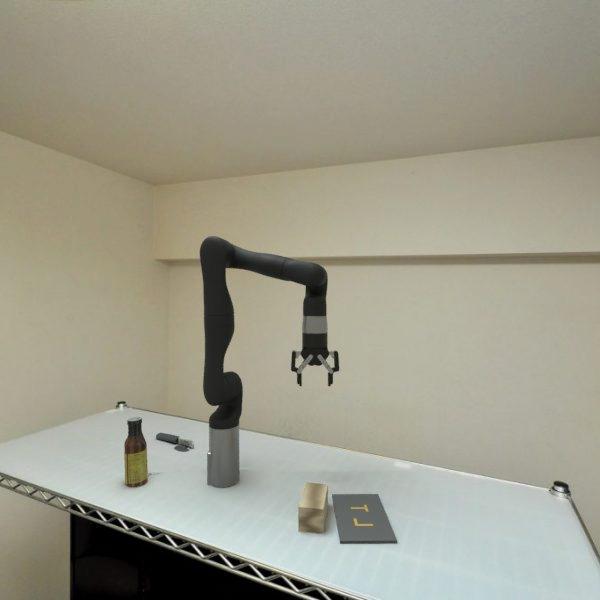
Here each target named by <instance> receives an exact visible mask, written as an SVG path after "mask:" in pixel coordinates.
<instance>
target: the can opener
mask: <svg viewBox="0 0 600 600" xmlns="http://www.w3.org/2000/svg"><path fill="white" fill-rule="evenodd" d="M155 439H157V440H161V441H166V442H170V443H173V444H177V445H176V446H174V447H173V449H174V450H176V451H177V452H181V453H186V452H190V450H194V449H195V443H194V441H193V439H189V438H186V437H182V436H179V435H174V434H171V433H170V434H169V433H164V432H158V433H156V435H155Z"/></svg>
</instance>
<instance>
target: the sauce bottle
mask: <svg viewBox="0 0 600 600" xmlns="http://www.w3.org/2000/svg"><path fill="white" fill-rule="evenodd" d="M126 422H127V423H126V424H127V437H126V439H125V441H124V452H123V453H124V482H125V486H126V487H128V488H139V487H142V486H144V485H146V484H147V482H148V477H149V475H148V474H149V472H148V446H147V441H146V439H145V436H144V433H143V430H142V427H143V426H142V423H143V418H142V417H139V416H136V417H135V416H134V417H131V418H128V419H127V421H126Z"/></svg>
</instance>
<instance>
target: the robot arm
mask: <svg viewBox="0 0 600 600" xmlns="http://www.w3.org/2000/svg"><path fill="white" fill-rule="evenodd" d="M199 261H200V268H201V269H200V270H201V275H202V285H203V287H202V288H203V289H202V291H203V293H202V294H203V326H204V327H203V330H204V362H203V363H204V364H203V365H204V366H203V379H202V380H203V381H202V391H203V396H204V399H205V401H206V403H207V404H208V405H209V406H212V407H217V406H218V407H217V408H216V410H215V411H214V412H212V413H211V414H210V416H209V417H208V451H207V454H206V458H207V459H206V461H207V462H206V472H207V473H206V474H207V475H206V476H207V477H206V479H207V480H206V481H207V482H206V485H208V486H212V487H215V488H228V487H230V486H234V485H236V484H237V483H238V482H239V481H240V419H241V416H242V411H243V399H244V398H243V393H244V391H243V390H244V387H243V381H242V378H241V377H240V375H239V374H238V373H237V372H235V371H233V370H232V371H226V372H224V371H225V370H224V363H225V357H226V353H227V351H228V349H229V346H230V344H231V342H232V340H233V337H234V333H235V328H236V327H235V307H234V303H233V301H232V297H231V295H230V291H229V289H228V285H227V278H226V277H227V276H226V275H227V269H237V270H245V271H247V272H248V271H249V272H253V273H256V274H259V275H262V276H265V277H268V278H272V279H276V280H281V281H285V282H292V283H296V284H297V285H298V284H299V285H301V286H305V296H304V298H303V302H302V321H301V322H302V323H301V324H302V325H301V331H302V332H301V333H302V334H301V337H302V340H301V343H302V344H301V345H302V346H301V348H302V349H301V351H300V350H299V351H297V350H294V349H293V350H292V351H291V362H290V371H291V372H294V373H296V384H297V385H299V386H298V387H302V386H303V382H302V381H303V379H302V378H303V376H302V375H303V373H302V372H303V371H304V369H305V368H306V367H307V366H310V367H313V366H316V367H317V366H318V367H320V366H322V365H323V366H324V369H326V370H327V387H332V386H331V385H333V383H334V373H337V372H339V371H340V357H339V351H338V350H336V349H335V350H332V351H331V350H329V349H328V345H329V343H328V341H329V339H328V335H329V334H328V317H327V314H328V313H327V309H328V308H327V305H328V304H327V296H328V282H329V281H328V278H329V277H328V271H327V270H326V269H325V268H324V266H322V265H321V264H318V263H315V262H312V261H306V260H300V259H299V260H297V259H293V258H291V257H286V256H282V255H278V254H272V253H268V252H257V251H252V250H248V249H244V248H242V247H239V246H237V245H235V244H233V243H231V242H229V241H228V240H226V239H225V238H222V237H219V236H217V235H209V236H207V237H206V238H204V240H203V241H202V243H201V244H200V248H199ZM299 356H301V358H302V359H303V360H302V362H301V363H300V365H299V366H298V367H296V361H297V360H296V359H298V358H299ZM329 356H330V357H331V358H332V359H333V363H334V365H333V367H332V366H331V365H330V364H329V363H328V362H327V359H328V358H329Z"/></svg>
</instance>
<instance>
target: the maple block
mask: <svg viewBox="0 0 600 600" xmlns="http://www.w3.org/2000/svg"><path fill="white" fill-rule="evenodd" d="M328 497H329V484H328V483H321V482H320V483H319V482H309V481H308V482H305V484H304V487H303V491H302V493H301V497H300V501H299V503H298V506H297V510H298V511H297V512H298V518H297V519H298V523H297V524H298V527H297V529H298V532H300V533H301V532H303V533H312V534H322V535H324V531H325V525H326V520H327V519H326V518H327V514H328V507H329V498H328Z"/></svg>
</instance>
